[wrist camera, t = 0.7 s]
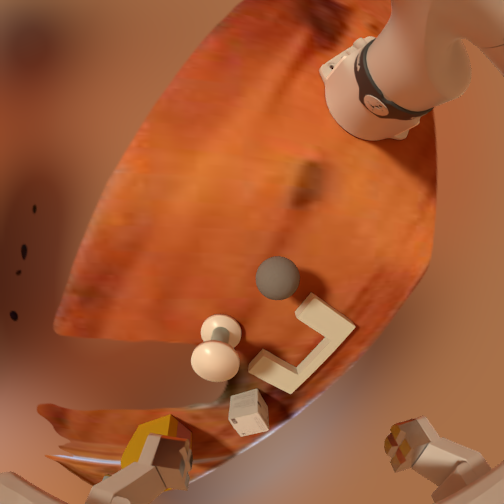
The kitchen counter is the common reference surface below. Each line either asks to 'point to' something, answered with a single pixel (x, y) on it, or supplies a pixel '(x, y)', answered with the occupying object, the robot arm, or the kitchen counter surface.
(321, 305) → the notched board
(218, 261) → the kitchen counter surface
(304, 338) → the kitchen counter surface
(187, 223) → the kitchen counter surface
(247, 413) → the skincare box
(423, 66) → the robot arm
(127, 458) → the alarm clock
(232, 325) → the bobbin
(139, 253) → the kitchen counter surface
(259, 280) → the light bulb
